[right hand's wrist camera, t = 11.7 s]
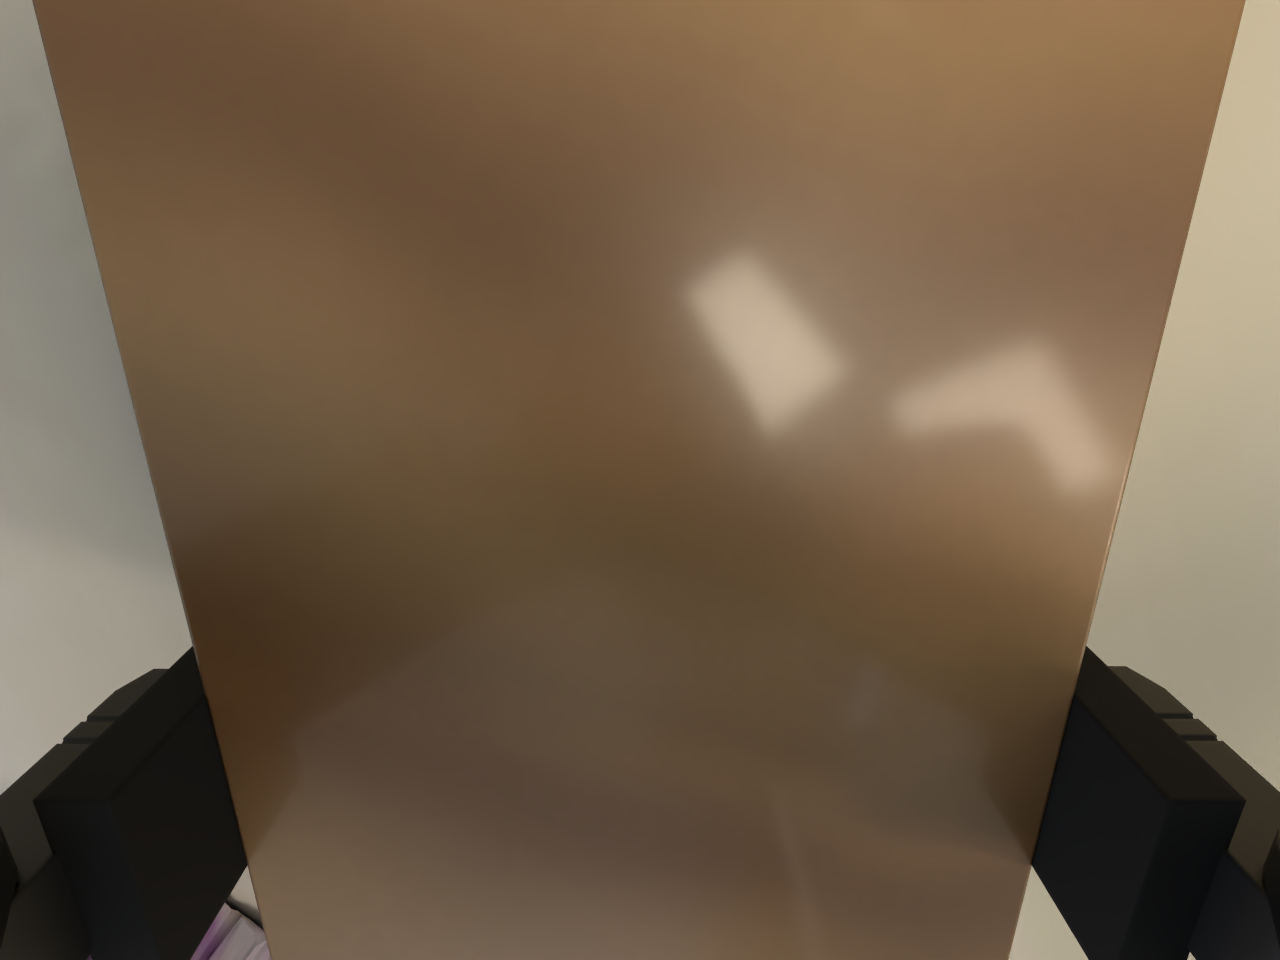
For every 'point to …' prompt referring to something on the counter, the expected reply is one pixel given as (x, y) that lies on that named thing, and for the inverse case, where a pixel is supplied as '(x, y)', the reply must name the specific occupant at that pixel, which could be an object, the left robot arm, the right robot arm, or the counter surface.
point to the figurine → (231, 939)
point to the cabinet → (639, 440)
